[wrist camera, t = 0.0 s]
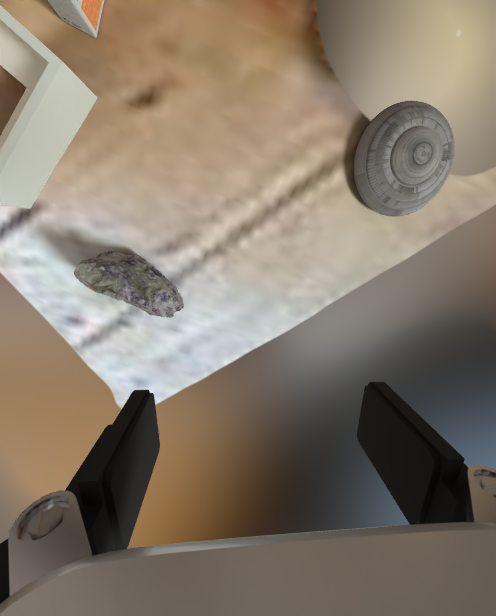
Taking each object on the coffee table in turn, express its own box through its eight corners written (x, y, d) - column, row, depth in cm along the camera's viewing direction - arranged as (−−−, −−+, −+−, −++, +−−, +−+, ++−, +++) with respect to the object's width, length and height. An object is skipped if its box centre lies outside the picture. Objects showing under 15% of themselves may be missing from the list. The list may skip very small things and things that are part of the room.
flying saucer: (461, 123, 36) (500, 105, 31) (419, 226, 40) (447, 225, 35) (370, 91, 34) (395, 66, 29) (335, 203, 38) (352, 198, 33)
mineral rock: (189, 302, 41) (177, 323, 31) (135, 331, 42) (107, 360, 32) (145, 231, 37) (115, 230, 28) (86, 264, 38) (38, 274, 29)
